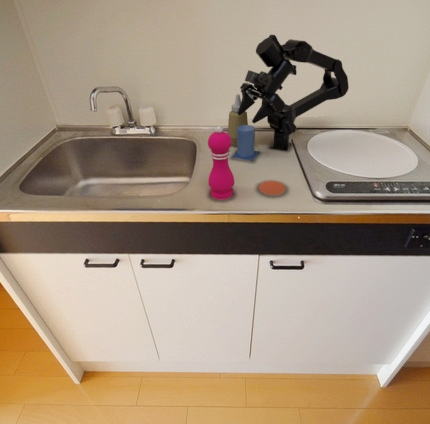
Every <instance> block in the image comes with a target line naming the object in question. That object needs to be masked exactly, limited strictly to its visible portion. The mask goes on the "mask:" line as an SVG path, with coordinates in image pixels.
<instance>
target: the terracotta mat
mask: <svg viewBox="0 0 430 424" xmlns="http://www.w3.org/2000/svg"><path fill="white" fill-rule="evenodd" d="M258 189H259V191H260V192H261V193H263V194H265V195H267V196H268V195H269V196H277V195H281V194H283V193H284V192H285V191H286V186H285V185H284V183H282V182H279V181H276V180H267V181H263V182H262V183H260V184H259V187H258Z"/></svg>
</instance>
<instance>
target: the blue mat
mask: <svg viewBox="0 0 430 424" xmlns="http://www.w3.org/2000/svg"><path fill="white" fill-rule="evenodd" d="M259 154H260V150H259V151H258V150H254V156H252V157H249V158H242V157H239V156H238V155H237V151H236V152H234V154H233V155H232V156H231V158H232V159H239V160H244V161H252V162H253V160H254V159H255V158H256V157H257V155H259Z"/></svg>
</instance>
